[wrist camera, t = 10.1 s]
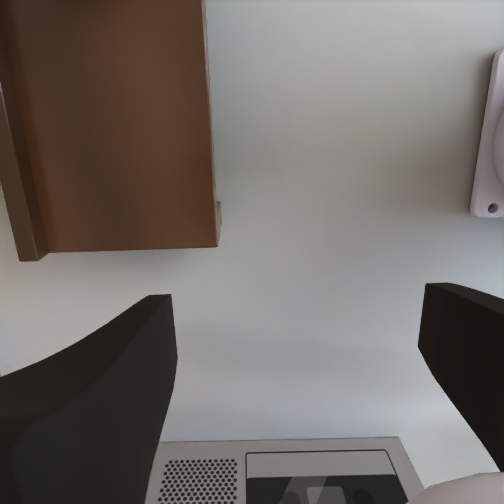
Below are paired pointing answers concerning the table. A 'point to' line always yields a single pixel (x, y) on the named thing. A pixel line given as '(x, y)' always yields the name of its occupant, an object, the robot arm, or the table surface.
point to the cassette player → (284, 472)
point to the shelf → (106, 126)
